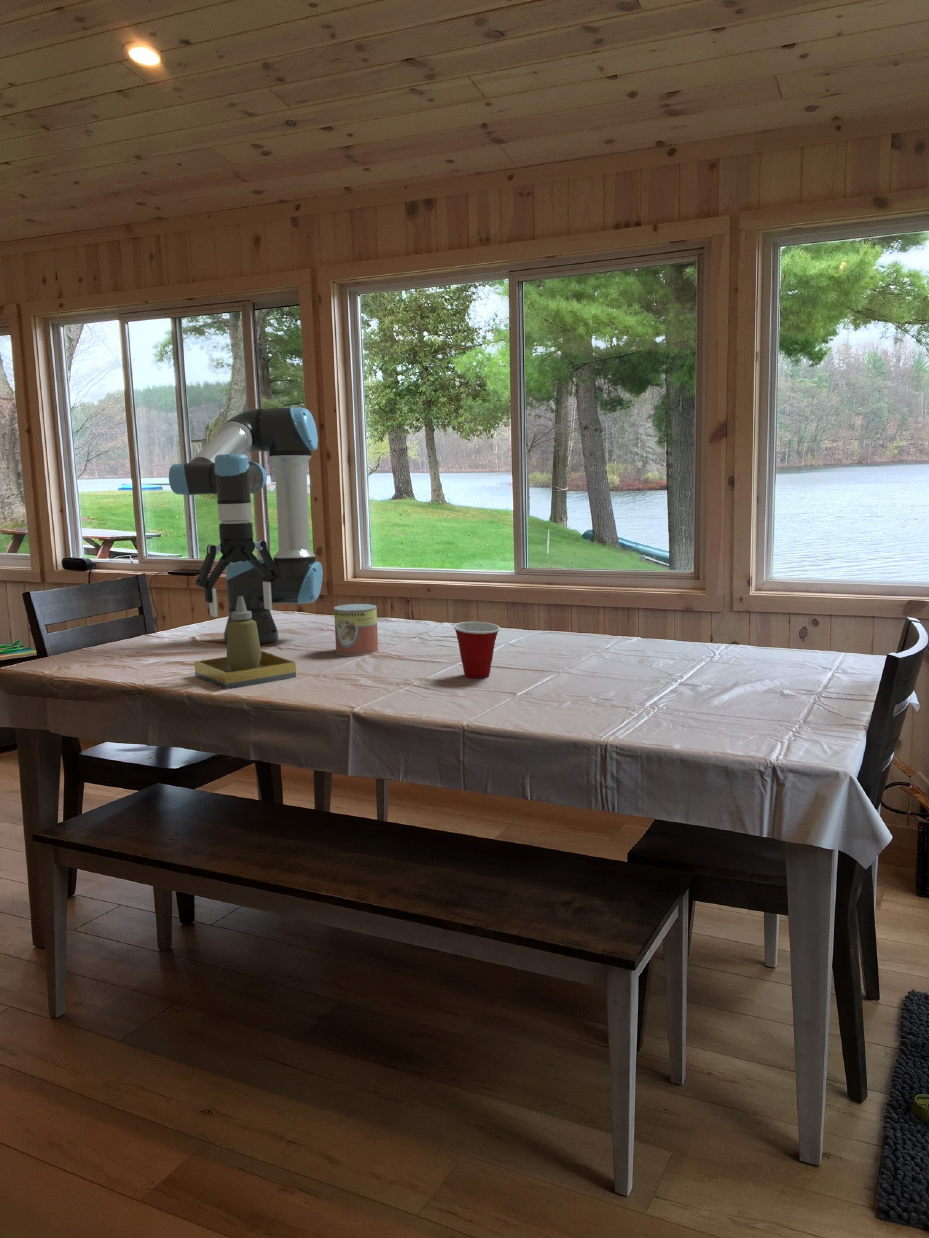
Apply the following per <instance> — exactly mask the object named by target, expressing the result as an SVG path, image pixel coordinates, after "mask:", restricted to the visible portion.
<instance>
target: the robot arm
mask: <svg viewBox="0 0 929 1238" xmlns="http://www.w3.org/2000/svg"><path fill="white" fill-rule="evenodd" d="M318 442H319V437H318V431H317V426H316V422H315V419H314V416H313V415H312V412H310V410H309V409H307V408H306V407H292V406H291V407H290V406H289V407H275V408H274V407H273V408H269V407H268V408H253V409H249V410H245V411H243V412H241V413H238V414H237V415H234V416H232V417H231V418H230V419H228V420H226V421H225V422H224V423H223V424H222V425H221V426H220V427H219V428H218V431H217V433H216V436H215V437H214V438H213V439H212V440H211V441H210V442H209V443H208V444H206V446H204V447H203V448H202V449H201V450H200V451H199V452H198V453H197V454H196V455H195V456H194V457H193V458H192V459H190V461H189V462H181V463H174V464H172V465H170V468H169V470H168V483H169V487H170V489H171V491H172V492H173V493H174V494H175V495H179V496H180V495H181V496H183V495H185V496H197V495H198V496H201V495H202V496H203V495H216V499H217V501H216V503H217V515H218V516H217V517H218V521H219V522H221V523H219V525H218V530H219V531H218V532H219V533H218V534H219V541H220V542H219V545H214V544H208V545H207V546H206V555H205V558H204V560H203V563H202V566H201V569H200V570H199V574H198V576H197V577H196V581H195V585H196V586H197V587H201V588H203V589H204V601H205V603H208V604H209V615H210V617H213V618H218V617H219V613H218V611H219V610H218V598H217V588H214V586H215V584H216V583H217V581H218V580H219V579H220V577H221V576H222V574H223V573H224V571H225V570H226V571H225V572H226V573H225V576H226V578H225V582H226V592H227V593H226V594H227V607H228V616H227V620H226V625H225V629H224V632H223V642H224V643H225V644H227V633H228V623H229V622H230V621H232V618H231V612H234V611H236V605H237V599H238V596H243V598H244V602H245V605H246V609H247V610H248V611H251V612H252V618H251V619H252V620H254V621H255V622H256V624H257V630H258V636H259V642H260V645H261V644H267V643H272V642H275V641H277V640H279V631H278V628H277V626H276V625H277V624H276V623H275V621H274V618H273V616H272V615H273V614H272V612H271V610H273V605H277V604H278V605H279V604H281V605H283V604H285V605H286V604H287V605H289V604H290V605H291V604H293V605H294V604H295V605H296V604H298V605H302V604H312V603H314V602H316V601H317V600H318V598H319V596H320V594H321V591H322V587H323V585H322V584H323V575H324V572H323V565H322V563H321V562H319V561H318V560H316V554H315V553H314V552H312V550H311V549H310V526H309V525H310V524H309V523H310V521H309V503H308V502H309V501H308V499H309V498H308V496H309V495H308V475H307V473H308V471H307V470H308V469H307V463H308V462H309V461H310V459H312V452H314V451H316V450H317V449H318ZM251 452H252V453H253V452H268V458H269V460H271V462H273V463H274V472H275V494H276V517H277V518H276V520H277V541H278V550H277V552H276V553H275V554H274V555H273V557H272V555H271V553H270V552H269V549H268V545H267V541H266V540H261V539H259V540H257V541H255V542H254V529H253V523H252V522H251V521H250V520H253V516H252V515H253V513H252V512H253V511H252V503H251V502H252V500H251V499H252V498H251V494H252V495H253V494H256V493H258V492H260V491H261V490H262V489H263V488H265V486H266V484H267V477H268V476H267V471H266V470H265V468H264V467H263V466H262V465H261V464H260V463H257V462H255V461H252V460H251V461H250V460H249V459H248V455H247V454H248V453H251ZM255 549H256V551H258V552H259V554H260V556H261V557H257V556H256V555H255V554H253V552H254V550H255ZM219 552H220V553H221V554H222V555H221V556H220V558H219V560H218V563H217V564H216V565H215V566H214V568H213V569H212V567H213V565H214V562H215V560H216V556H217V555H218V554H219ZM211 570H212V571H211ZM210 572H211V573H210Z"/></svg>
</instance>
